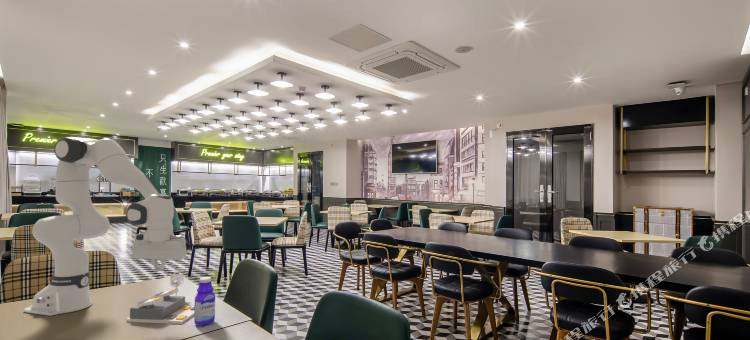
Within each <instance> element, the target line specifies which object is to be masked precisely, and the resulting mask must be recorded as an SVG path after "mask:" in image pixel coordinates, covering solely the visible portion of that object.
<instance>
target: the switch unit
mask: <svg viewBox="0 0 750 340" xmlns="http://www.w3.org/2000/svg"><path fill="white" fill-rule="evenodd" d="M154 296H155V295H153V296H151V297H150V298H147V299H148V300H149V299H155V298H154ZM163 298H164V300H163V301H161V302H159V303H157V304H152V305H146V306H141V307H138V306H137V304H136V305H134V306H132V307H130V308H129V317H127V318H126V321H125V322H129V323H153V324H170V325H171V324H174V325H175V324H176V325H183V324H184V323H186V322H187V321H189V319H191V318H192V317H194V312H195V305H186V296H185V295H184V296H178V295H177V296H176V295H168V296H164V297H163Z"/></svg>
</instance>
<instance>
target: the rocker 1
mask: <svg viewBox="0 0 750 340" xmlns="http://www.w3.org/2000/svg"><path fill="white" fill-rule="evenodd" d="M148 299H149V298H146V299H142V300H140V301H138V302H137V303H136V305H137V306H138V307H141V306H146V305H152V304H157V303H159V302H161V301H163V300H164V298H163V297H158V298H155V299H149V300H148Z"/></svg>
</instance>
